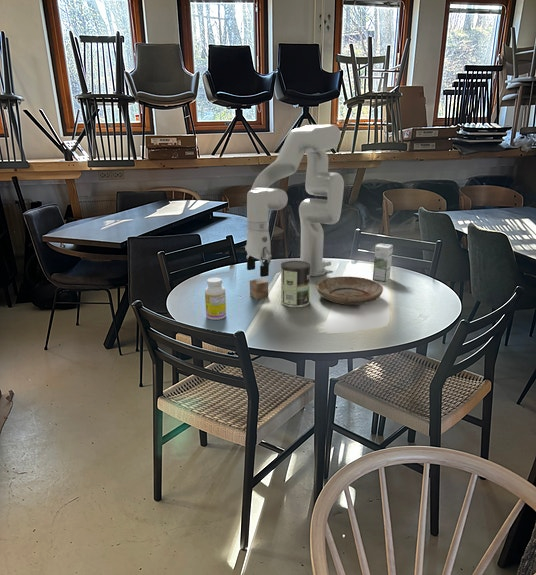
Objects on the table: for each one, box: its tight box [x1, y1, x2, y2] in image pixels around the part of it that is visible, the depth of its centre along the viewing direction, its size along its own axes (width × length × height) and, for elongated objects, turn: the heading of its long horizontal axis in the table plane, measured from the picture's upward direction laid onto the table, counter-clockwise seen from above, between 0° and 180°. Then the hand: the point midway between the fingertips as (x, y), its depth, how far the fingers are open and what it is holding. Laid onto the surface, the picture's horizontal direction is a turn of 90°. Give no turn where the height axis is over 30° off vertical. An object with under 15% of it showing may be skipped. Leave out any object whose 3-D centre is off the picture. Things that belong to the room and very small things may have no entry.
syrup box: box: [372, 243, 394, 283], centre depth 176 cm, size 6×6×14 cm
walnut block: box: [249, 277, 269, 300], centre depth 160 cm, size 5×5×6 cm
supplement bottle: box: [204, 277, 227, 321], centre depth 141 cm, size 7×7×13 cm
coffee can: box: [280, 260, 311, 308], centre depth 152 cm, size 10×10×14 cm
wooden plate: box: [316, 276, 384, 306], centre depth 157 cm, size 23×24×5 cm
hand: (257, 272), depth 157 cm, fingers open, 9 cm apart
